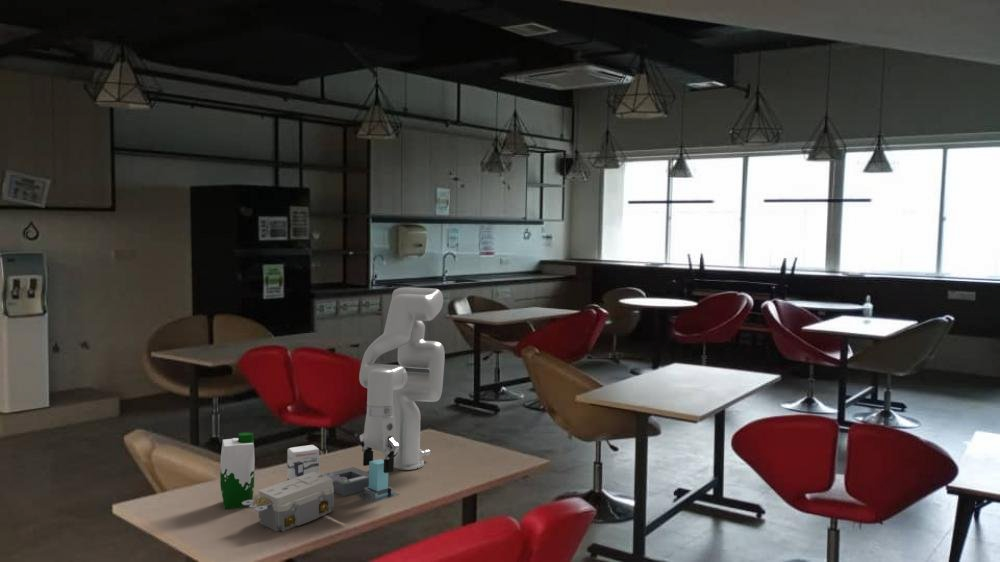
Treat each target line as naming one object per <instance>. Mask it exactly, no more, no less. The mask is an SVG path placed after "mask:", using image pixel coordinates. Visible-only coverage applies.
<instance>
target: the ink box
mask: <svg viewBox="0 0 1000 562" xmlns="http://www.w3.org/2000/svg"><path fill="white" fill-rule="evenodd" d="M286 459H287V466H286V467H287V468H286V469H287V472H286V475H287V476H286V477H287V478H286V479H287V480H290V479H293V478H296V477H299V476H302V475H305V474H308V473H311V472H317V473H320V449H319V448H318V447H317V446H315V445H314V444H309V445H301V446H293V447H289V448H287V457H286ZM287 480H286V481H287Z"/></svg>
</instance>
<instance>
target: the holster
mask: <svg viewBox="0 0 1000 562" xmlns="http://www.w3.org/2000/svg"><path fill="white" fill-rule="evenodd" d="M356 496H357V497H359V498H361V499H364V500H365V501H368V502H370V503H376V502H377V503H378V502H380V501H384V500H387V499H390V498H394V497H397V496H401V495H400V494H399V493H397V492H394V488H393V487H391V486H389V485H388V495H387V496H383V497H380V498H378V493H377V492H375V491H372V490H370V489H369V486H368V487H365V488H363V491H362V493H361V494H356Z"/></svg>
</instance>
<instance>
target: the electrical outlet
mask: <svg viewBox="0 0 1000 562" xmlns="http://www.w3.org/2000/svg"><path fill="white" fill-rule="evenodd" d="M333 472H334V471H327V472H324V473H323V474H322V473H320V472H319V473H317V472H311V473H308V474H305V475H302V476H299V477H296V478H293V479H290V480H285V481H282V482H279V483H276V484H273V485H270V486H267V487H264V488H261V489H259V491H258V495H259V496H258V497H257V499H255V500H253V499H252V500H247V501H244V502H242V505H244V506H247V505H250V506H249V508H250V509H253V510H254V511H255V512H258V518H259V521H260V524H261V525H263V526H264V527H267V528H269V529H271V530H273V531H275V532H278V531H281V532H285V531H287V530H290V529H292V528H294V527H297V526H301V525H304V524H306V523H310V522H311V521H314V520H317V519H319V518H320V517H323V516H325V515H326V514H331V513H332V511H334V508H335V492H334V487H333V482H335V481H338V482H343V481H345V480H347V478H346V477H340V475H334V473H333ZM327 474H329V475H327ZM332 478H333V479H332ZM341 479H342V480H341ZM247 502H250V503H247Z"/></svg>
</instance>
